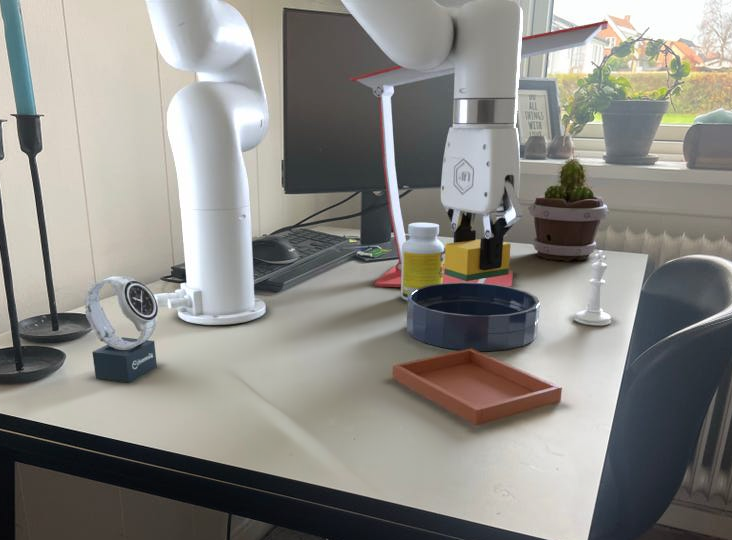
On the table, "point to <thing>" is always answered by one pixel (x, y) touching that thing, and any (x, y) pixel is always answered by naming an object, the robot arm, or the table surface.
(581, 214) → the flowerpot
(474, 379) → the sponge dish
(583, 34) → the desk lamp
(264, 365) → the table surface
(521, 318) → the bowl
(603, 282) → the chess piece
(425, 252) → the pill bottle
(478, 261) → the sponge
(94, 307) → the watch
